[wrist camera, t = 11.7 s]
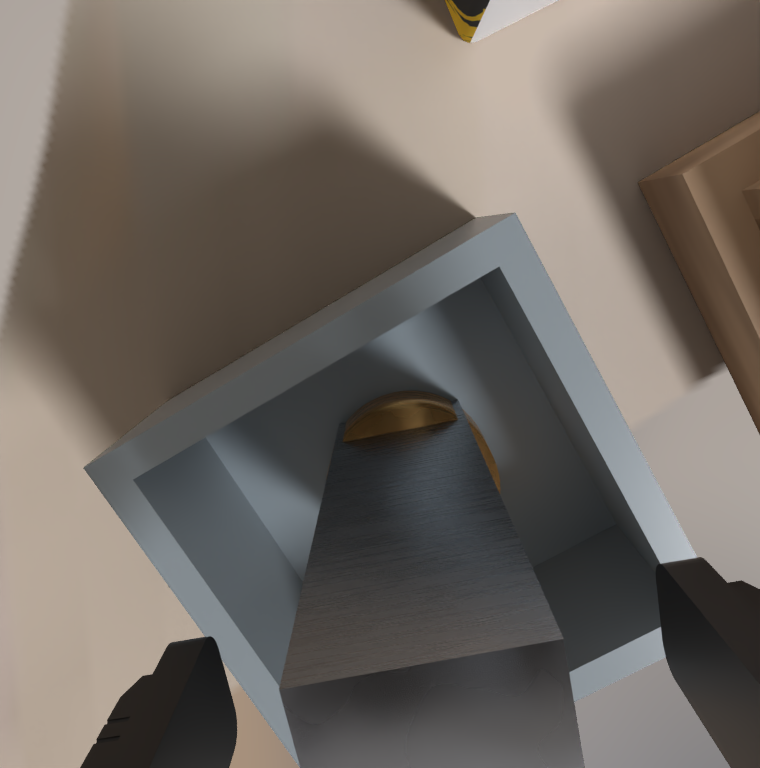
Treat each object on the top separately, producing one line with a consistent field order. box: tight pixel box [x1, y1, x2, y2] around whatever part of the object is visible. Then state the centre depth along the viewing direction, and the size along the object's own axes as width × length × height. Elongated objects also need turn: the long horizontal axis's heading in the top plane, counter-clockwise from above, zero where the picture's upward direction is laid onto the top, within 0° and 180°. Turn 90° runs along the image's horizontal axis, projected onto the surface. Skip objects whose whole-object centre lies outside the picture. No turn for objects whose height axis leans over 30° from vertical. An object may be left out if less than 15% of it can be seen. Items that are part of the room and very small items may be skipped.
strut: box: [279, 391, 585, 768], centre depth 15 cm, size 5×5×12 cm
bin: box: [84, 213, 697, 767], centre depth 19 cm, size 11×11×6 cm
